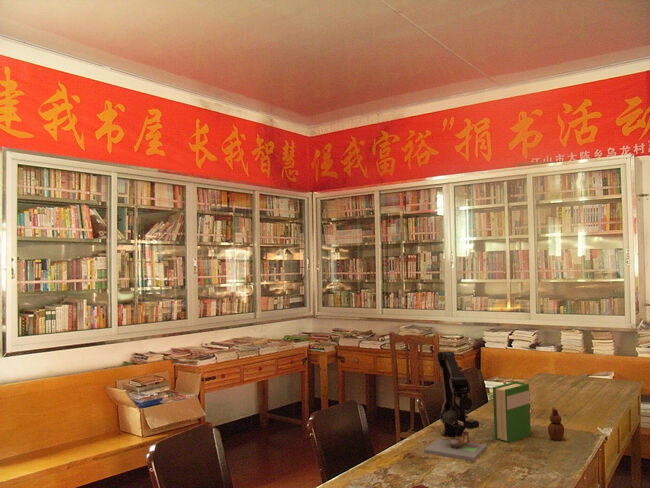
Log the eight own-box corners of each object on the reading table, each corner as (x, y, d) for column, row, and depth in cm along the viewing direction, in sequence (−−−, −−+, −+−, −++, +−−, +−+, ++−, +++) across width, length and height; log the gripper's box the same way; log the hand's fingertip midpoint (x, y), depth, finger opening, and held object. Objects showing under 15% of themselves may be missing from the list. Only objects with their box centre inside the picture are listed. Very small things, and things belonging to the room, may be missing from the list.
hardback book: (508, 443, 252) (506, 389, 253) (494, 439, 258) (492, 387, 259) (530, 435, 263) (528, 383, 264) (517, 431, 269) (515, 381, 270)
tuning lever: (457, 448, 241) (456, 439, 241) (448, 446, 244) (448, 436, 245) (471, 441, 250) (471, 432, 250) (463, 439, 253) (463, 430, 253)
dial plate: (439, 441, 258) (439, 437, 258) (486, 448, 246) (486, 444, 246) (424, 452, 243) (424, 449, 243) (474, 461, 231) (474, 457, 231)
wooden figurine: (554, 442, 252) (552, 408, 253) (546, 438, 258) (544, 405, 258) (567, 440, 254) (565, 407, 255) (558, 436, 260) (557, 404, 260)
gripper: (431, 401, 254) (431, 436, 254) (461, 411, 238) (461, 448, 238) (449, 398, 260) (449, 432, 260) (479, 408, 244) (479, 444, 244)
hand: (459, 439), depth 250 cm, fingers closed
